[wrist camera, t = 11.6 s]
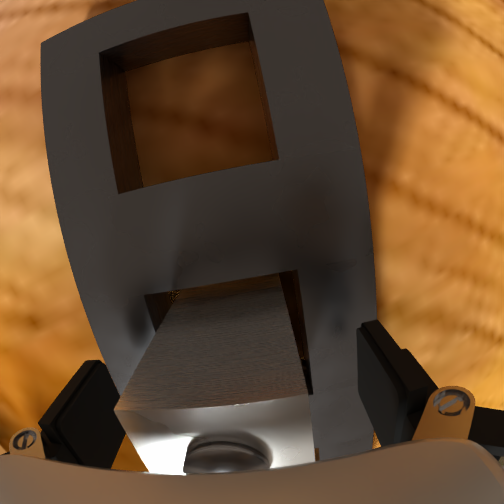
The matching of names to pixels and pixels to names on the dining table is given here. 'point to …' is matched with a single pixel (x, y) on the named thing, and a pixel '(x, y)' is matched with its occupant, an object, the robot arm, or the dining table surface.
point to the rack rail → (217, 190)
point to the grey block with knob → (221, 384)
